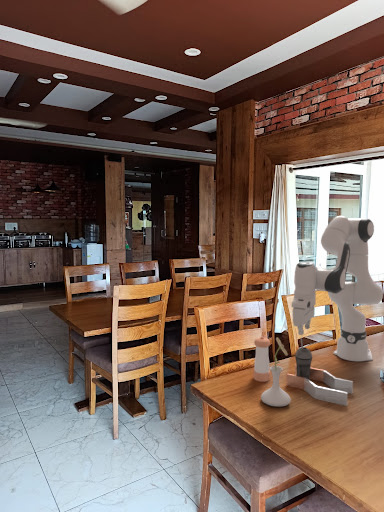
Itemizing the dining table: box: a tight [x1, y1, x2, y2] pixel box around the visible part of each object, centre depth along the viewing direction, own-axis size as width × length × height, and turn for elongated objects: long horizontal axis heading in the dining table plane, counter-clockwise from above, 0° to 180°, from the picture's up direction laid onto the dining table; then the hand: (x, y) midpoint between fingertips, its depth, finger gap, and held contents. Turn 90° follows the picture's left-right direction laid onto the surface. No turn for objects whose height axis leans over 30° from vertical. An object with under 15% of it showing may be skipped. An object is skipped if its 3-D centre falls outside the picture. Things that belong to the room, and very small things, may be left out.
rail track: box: [286, 364, 354, 407], centre depth 160 cm, size 19×25×5 cm
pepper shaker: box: [253, 336, 271, 382], centre depth 170 cm, size 7×7×19 cm
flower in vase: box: [260, 337, 292, 408], centre depth 148 cm, size 13×11×25 cm
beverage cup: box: [294, 337, 313, 380], centre depth 166 cm, size 7×7×20 cm
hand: (304, 331), depth 165 cm, fingers open, 8 cm apart
